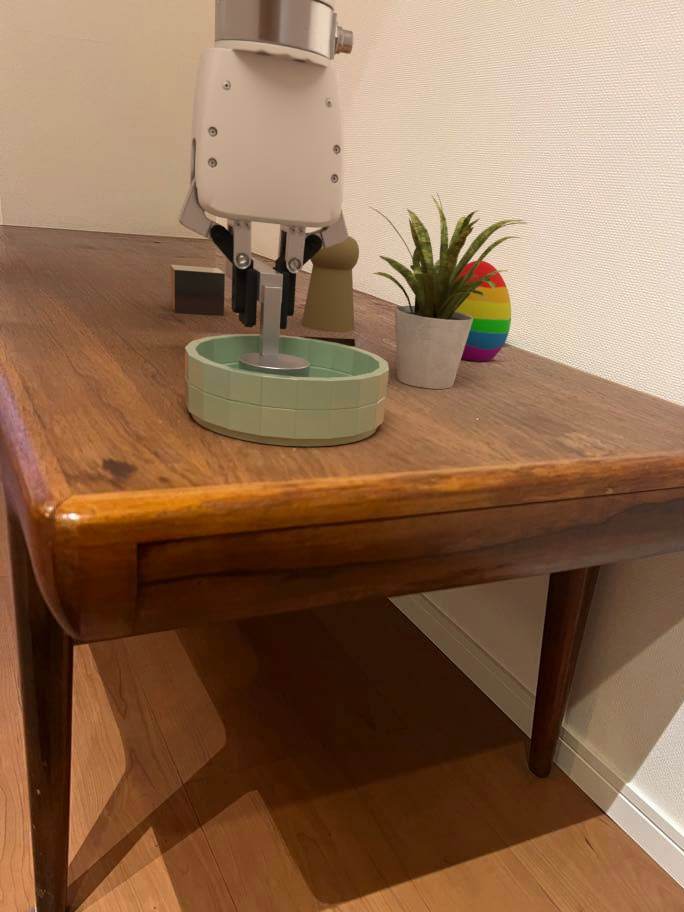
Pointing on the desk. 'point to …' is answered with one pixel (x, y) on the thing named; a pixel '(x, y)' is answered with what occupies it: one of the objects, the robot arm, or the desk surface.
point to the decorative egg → (486, 315)
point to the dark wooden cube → (197, 290)
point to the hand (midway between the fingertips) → (262, 323)
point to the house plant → (437, 302)
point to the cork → (332, 291)
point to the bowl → (286, 392)
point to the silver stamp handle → (270, 328)
